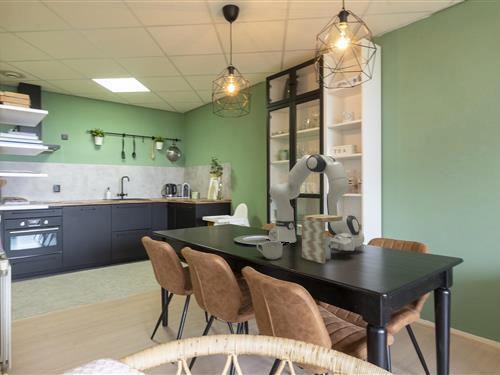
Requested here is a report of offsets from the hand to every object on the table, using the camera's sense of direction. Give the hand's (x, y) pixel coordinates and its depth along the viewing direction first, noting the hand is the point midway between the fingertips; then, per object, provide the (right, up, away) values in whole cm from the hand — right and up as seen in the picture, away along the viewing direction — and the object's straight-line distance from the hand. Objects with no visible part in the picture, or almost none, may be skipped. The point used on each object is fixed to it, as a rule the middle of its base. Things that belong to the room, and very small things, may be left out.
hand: (323, 244), depth 159 cm
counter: (-1, -7, -1) cm, 7 cm away
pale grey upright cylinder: (+1, -7, +1) cm, 7 cm away
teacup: (-28, -7, +2) cm, 29 cm away
